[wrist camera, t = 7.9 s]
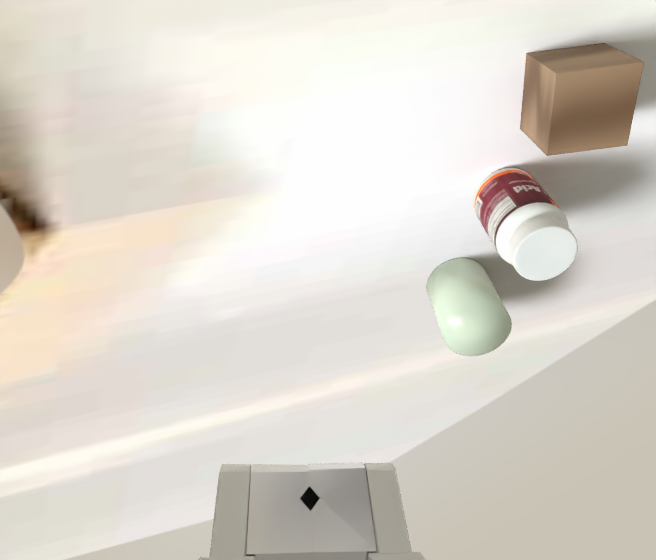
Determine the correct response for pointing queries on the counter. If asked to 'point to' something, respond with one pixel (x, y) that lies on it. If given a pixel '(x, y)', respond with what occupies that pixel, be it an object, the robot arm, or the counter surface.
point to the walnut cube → (579, 98)
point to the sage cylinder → (467, 307)
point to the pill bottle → (525, 224)
